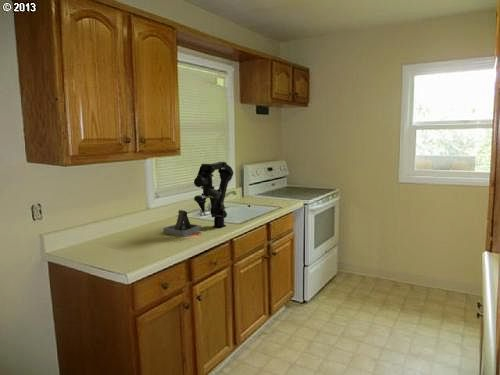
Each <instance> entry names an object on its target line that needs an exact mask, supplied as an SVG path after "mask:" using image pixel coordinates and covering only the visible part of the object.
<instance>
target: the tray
mask: <svg viewBox="0 0 500 375" xmlns="http://www.w3.org/2000/svg"><path fill="white" fill-rule="evenodd" d="M190 224H191V227H192V228H191V229H188V230H185V231H180V230H175V226H176V224H173V225H169V226H166V227H163V228H162V230H163V234H167V235H173V236H178V237H186V236H190V235H193V234H195V233H198V232H200V231H202V225H199V224H194V223H190ZM182 228H185V225H184V222H183V226H182ZM194 232H195V233H194ZM192 233H193V234H192ZM189 234H190V235H189Z"/></svg>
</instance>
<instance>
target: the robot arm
mask: <svg viewBox="0 0 500 375" xmlns="http://www.w3.org/2000/svg"><path fill="white" fill-rule="evenodd" d="M198 169H199V170H198V173H197V175H196V177H195V178H194V180H193V184H194V186H195V187H197V188H201V189H202V193H201V194H197V195H195V196H194V197H193V200H194V202H195V203H197V204H198V206H199V207H200V210H201V212H203V213H205V210H206V209H205V208H206V207H205V206H206V202H207V199H209V201H210V206H211V207H210V210H209V211H210V216H211V218H214V220H213V224H214V225H212V228H218V229H219V228H220V229H221V228H224V227H226V226H227V224H225V219H226V218H227V217H228V213H227V211H226V206H225V203H224V202H225V197H226V193H227V188H228V186H229V185H228V184H229V182H230V181H231V180H232V179H233V176H234V170H233V169H232V167H231V166H230V165H228V164H227V162H226V161H218V162H214V163H202V164H201V165H200V166H199V168H198ZM216 170H217V173H218V174H219V179H220V182H219V186H218V189H216V188H215V186H213V177H214V174H213V173H215V171H216Z"/></svg>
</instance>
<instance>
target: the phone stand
mask: <svg viewBox="0 0 500 375" xmlns="http://www.w3.org/2000/svg"><path fill="white" fill-rule="evenodd" d="M188 217H189V216H188V212H187V211H185V210H183V209H179V210H178V216H177V220H176V226H175V230H180V231H185V230H188V229H191V228H192V227H191V224H192V223H190V222H191V221H190V219H189V218H188ZM183 223H184V225H185V228H182V226H183Z"/></svg>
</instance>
